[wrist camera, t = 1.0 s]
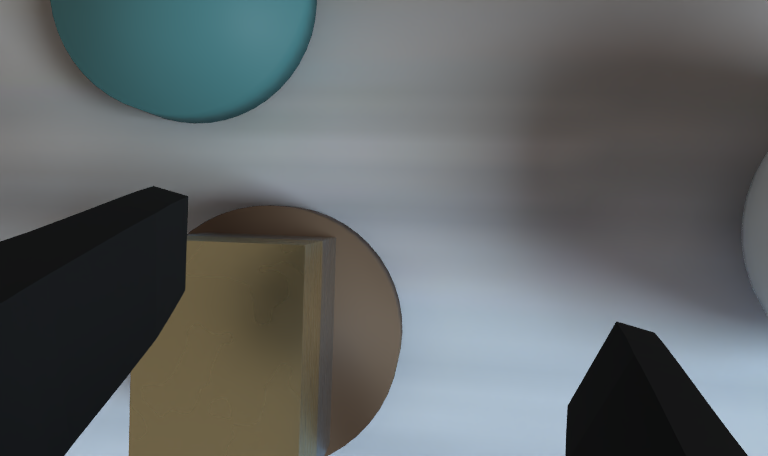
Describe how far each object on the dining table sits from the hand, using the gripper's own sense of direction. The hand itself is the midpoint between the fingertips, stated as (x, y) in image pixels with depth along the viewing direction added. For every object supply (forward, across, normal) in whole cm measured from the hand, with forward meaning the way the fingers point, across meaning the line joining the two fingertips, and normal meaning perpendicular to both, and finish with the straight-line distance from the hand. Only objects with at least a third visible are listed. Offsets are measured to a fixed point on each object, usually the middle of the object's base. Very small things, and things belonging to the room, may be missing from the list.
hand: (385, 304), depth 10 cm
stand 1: (+14, +10, 0) cm, 17 cm away
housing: (+7, +4, +8) cm, 11 cm away
